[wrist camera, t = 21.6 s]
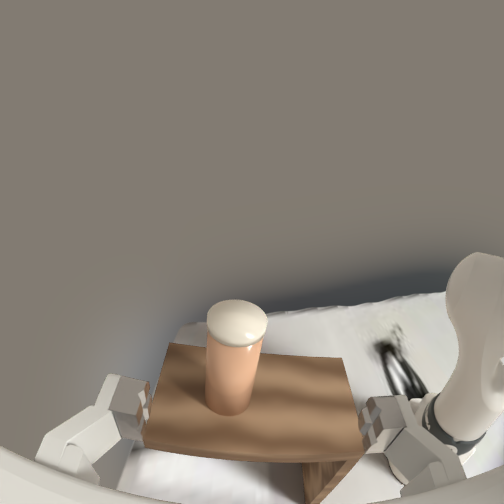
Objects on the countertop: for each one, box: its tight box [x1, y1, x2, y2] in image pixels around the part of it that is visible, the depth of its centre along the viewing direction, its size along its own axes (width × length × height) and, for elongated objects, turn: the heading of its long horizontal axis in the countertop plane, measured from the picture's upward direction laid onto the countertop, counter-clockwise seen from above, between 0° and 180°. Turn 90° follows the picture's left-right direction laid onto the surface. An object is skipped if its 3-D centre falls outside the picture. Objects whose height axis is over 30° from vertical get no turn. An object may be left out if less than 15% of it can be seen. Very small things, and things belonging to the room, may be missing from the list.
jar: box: [205, 300, 267, 416], centre depth 31 cm, size 5×5×12 cm
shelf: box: [143, 343, 365, 504], centre depth 38 cm, size 15×23×20 cm, turn 89°
